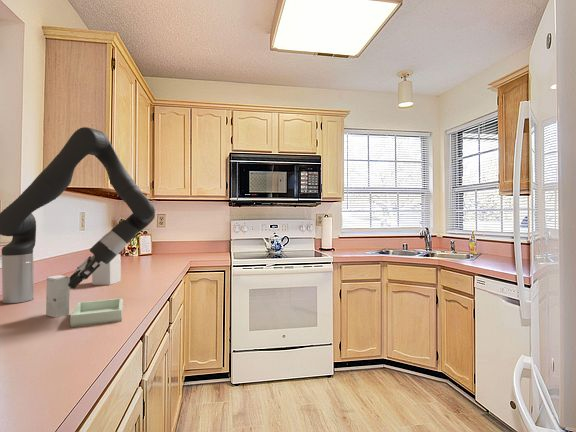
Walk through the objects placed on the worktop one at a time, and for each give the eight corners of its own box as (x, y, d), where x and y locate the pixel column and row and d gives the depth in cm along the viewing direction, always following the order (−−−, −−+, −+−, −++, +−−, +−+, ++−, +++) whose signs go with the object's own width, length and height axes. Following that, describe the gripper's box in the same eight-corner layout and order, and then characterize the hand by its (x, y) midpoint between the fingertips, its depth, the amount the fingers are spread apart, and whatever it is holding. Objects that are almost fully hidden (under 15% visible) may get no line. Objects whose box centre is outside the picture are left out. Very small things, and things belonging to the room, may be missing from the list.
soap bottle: (121, 281, 165) (120, 240, 165) (110, 285, 156) (109, 242, 156) (104, 281, 166) (103, 240, 166) (92, 284, 157) (91, 242, 157)
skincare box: (45, 315, 111) (44, 277, 110) (60, 311, 114) (59, 274, 114) (55, 318, 107) (55, 278, 107) (70, 314, 111) (70, 276, 111)
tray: (78, 312, 113) (78, 302, 113) (122, 307, 119) (122, 298, 119) (70, 327, 99) (70, 315, 99) (121, 321, 104) (121, 310, 104)
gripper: (97, 238, 123) (59, 274, 117) (102, 241, 112) (60, 281, 105) (114, 252, 126) (77, 288, 120) (120, 256, 115) (80, 296, 108)
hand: (69, 284), depth 113 cm, fingers open, 8 cm apart
